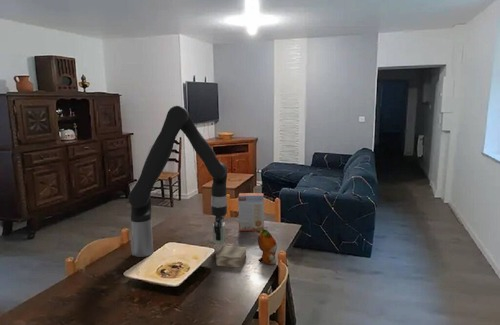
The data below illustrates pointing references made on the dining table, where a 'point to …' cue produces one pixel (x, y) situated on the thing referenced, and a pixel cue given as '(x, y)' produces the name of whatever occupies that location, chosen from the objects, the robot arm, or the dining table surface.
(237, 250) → the beige box
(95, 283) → the dining table surface
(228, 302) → the dining table surface
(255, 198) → the cracker box
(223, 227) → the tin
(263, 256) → the toy
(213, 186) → the robot arm
